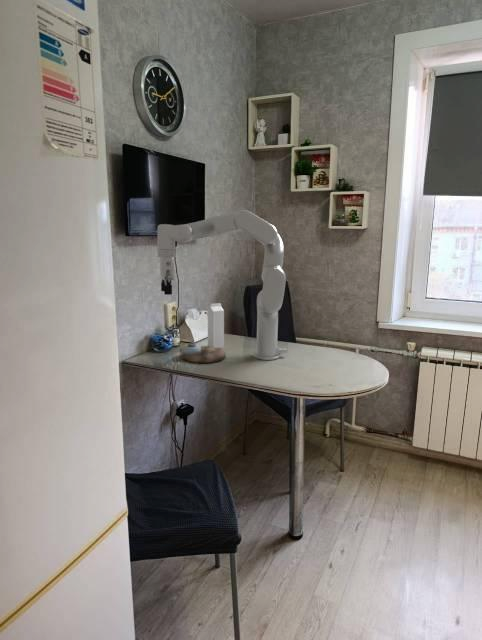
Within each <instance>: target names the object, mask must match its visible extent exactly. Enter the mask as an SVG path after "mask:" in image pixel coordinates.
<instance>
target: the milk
mask: <svg viewBox="0 0 482 640" xmlns="http://www.w3.org/2000/svg"><path fill="white" fill-rule="evenodd" d="M208 346H209V347H214V348H219V349H224V346H225V309H224V308H223V307H222V303H221V302H219V303H218V302H217V303H210V305H209V307H208V309H207V347H208Z"/></svg>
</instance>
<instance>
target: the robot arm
mask: <svg viewBox="0 0 482 640" xmlns="http://www.w3.org/2000/svg"><path fill="white" fill-rule="evenodd" d="M238 232H239V233H240V232H244V233H245V234H247V235H249V236H251V237H252V238H254V239H255V240H257V241H258V242H259V243H261V244H262V246H263V247H264V248H263V249H264V256H263V257H264V258H263V263H262V265H263V266H262V270H261V271H262V272H261V274H260V275H261V280H262V282H263V284H262V289H261V290H260V291H259V292H258V294H257V295H256V311H257V313H256V351H254V352H253V354H252V356H253V358H255V359H257V360H263V361H272V360H277V359H279V358H281V354H287V353H288V349H287V348H284V347H278V331H279V329H278V328H279V310H281V308H282V305H283V301H284V297H285V289H286V281H287V277H286V273H285V271H284V270H283V264H284V257H285V255H284V254H285V251H284V250H285V246H284V242H283V240H282V237H281V236H280V234H279V233H278V230H277V228H276V227H275V226H274V225H273V224H271V223H269V222H268V221H267V220H265V219H263V218H261V217H260V216H258V215H257V214H255V213H253V212H252V211H250V210H248V209H241V210H237V211H234V212H233V211H232V212H227V213H223V214H220V215H219V214H218V215H214V216H210V217H208V218H206V219H203V220H198V221H195V222H190V223H186V224H175V225H174V224H167V223H164V224H163V223H162V224H158V226H157V257H158V258H160V259H159V272H160V273H159V274H160V275H159V276H160V278H161V279H160V280H161V283H160V290H161V292H164V295H173V284H172V281H174V280H175V263H174V258H176V242H178V243H188V242H190V241H195V240H200V239H205V238H210V237H211V238H213V237H216V238H217V237H220V236H225V235H228V234H234V233H238Z"/></svg>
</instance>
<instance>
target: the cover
mask: <svg viewBox="0 0 482 640" xmlns="http://www.w3.org/2000/svg"><path fill="white" fill-rule="evenodd" d="M201 347H202V346H201V344H198V343H197V344H196V343H187V344H183V345H182V352H183V354H185V355H198V354H200V353H201Z"/></svg>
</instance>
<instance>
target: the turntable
mask: <svg viewBox="0 0 482 640" xmlns="http://www.w3.org/2000/svg"><path fill="white" fill-rule="evenodd" d="M226 356H227V353H226V351H225V350H224V349H223V348H214V347H208V346H201V353H200V354H198V355H185V354H183V351H182V352H181V357H182V359H184V360H185V361H187V362H192V363H200V364H201V363H206V364H207V363H214V362H220V361H222V360H224V359H225V358H226Z"/></svg>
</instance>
